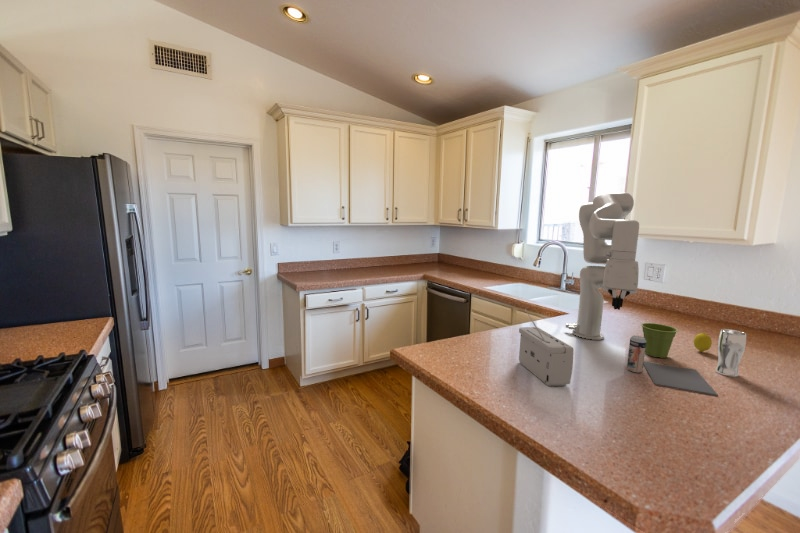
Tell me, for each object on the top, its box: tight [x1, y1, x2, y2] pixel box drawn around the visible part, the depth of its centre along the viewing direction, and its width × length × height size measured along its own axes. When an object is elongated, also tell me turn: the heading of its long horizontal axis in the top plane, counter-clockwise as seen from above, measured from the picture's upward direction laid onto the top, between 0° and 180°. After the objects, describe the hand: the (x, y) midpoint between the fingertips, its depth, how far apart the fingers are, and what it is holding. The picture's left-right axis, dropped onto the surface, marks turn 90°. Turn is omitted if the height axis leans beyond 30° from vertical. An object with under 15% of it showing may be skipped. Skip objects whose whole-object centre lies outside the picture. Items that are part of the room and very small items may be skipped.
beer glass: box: [714, 328, 747, 378], centre depth 125 cm, size 7×7×15 cm
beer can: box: [626, 335, 646, 374], centre depth 125 cm, size 5×5×12 cm
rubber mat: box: [643, 361, 719, 397], centre depth 121 cm, size 16×20×1 cm
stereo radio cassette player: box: [518, 309, 575, 387], centre depth 120 cm, size 21×8×20 cm, turn 9°
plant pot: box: [640, 322, 679, 359], centre depth 141 cm, size 12×12×11 cm
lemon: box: [693, 332, 712, 353], centre depth 146 cm, size 6×6×8 cm
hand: (616, 308), depth 126 cm, fingers closed
